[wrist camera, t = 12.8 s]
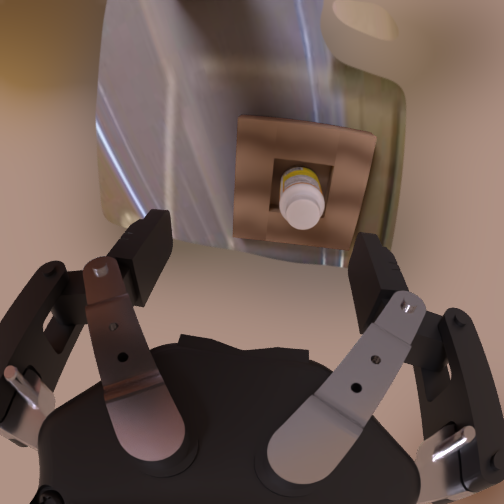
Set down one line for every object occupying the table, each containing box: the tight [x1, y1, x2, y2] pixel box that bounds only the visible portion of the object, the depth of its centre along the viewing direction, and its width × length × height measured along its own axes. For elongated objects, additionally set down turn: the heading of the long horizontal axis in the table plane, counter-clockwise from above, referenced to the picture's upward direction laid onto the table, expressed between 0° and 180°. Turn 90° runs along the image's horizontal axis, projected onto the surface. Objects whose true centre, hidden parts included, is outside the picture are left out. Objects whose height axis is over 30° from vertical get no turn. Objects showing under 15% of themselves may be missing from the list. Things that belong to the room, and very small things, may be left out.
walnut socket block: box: [233, 115, 377, 250], centre depth 41 cm, size 18×18×3 cm
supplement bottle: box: [279, 165, 325, 230], centre depth 37 cm, size 6×6×10 cm
